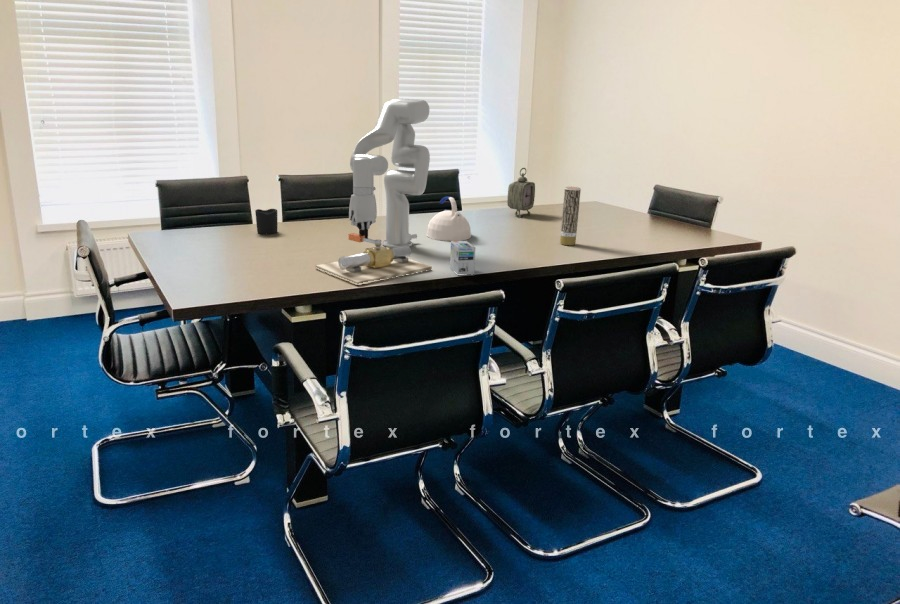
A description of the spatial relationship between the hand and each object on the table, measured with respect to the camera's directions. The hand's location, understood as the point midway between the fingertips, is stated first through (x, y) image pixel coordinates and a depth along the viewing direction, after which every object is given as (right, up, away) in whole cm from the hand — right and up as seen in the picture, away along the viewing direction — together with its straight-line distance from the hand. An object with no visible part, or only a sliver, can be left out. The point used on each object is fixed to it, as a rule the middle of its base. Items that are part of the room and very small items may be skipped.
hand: (363, 239), depth 261 cm
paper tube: (+85, +2, +44) cm, 96 cm away
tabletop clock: (+70, +22, +103) cm, 126 cm away
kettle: (+32, +6, +52) cm, 61 cm away
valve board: (+5, -12, -6) cm, 14 cm away
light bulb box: (+37, -13, -4) cm, 39 cm away
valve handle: (+1, -2, -5) cm, 5 cm away
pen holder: (-49, +7, +45) cm, 67 cm away
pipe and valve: (+5, -11, -7) cm, 14 cm away
